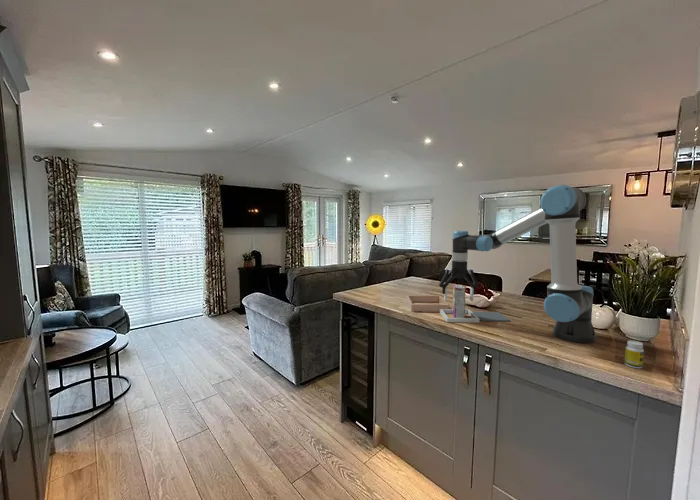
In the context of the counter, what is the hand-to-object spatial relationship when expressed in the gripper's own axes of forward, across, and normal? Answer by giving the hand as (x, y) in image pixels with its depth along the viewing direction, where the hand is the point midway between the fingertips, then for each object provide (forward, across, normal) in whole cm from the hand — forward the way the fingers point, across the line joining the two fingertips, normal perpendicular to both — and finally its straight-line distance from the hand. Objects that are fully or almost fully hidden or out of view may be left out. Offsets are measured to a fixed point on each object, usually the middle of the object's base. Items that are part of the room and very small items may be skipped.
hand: (458, 300), depth 162 cm
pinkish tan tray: (+10, +13, -21) cm, 26 cm away
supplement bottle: (+8, -45, +53) cm, 70 cm away
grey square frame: (+9, 0, 0) cm, 9 cm away
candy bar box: (+10, 0, 0) cm, 10 cm away
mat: (+9, -17, -1) cm, 20 cm away
